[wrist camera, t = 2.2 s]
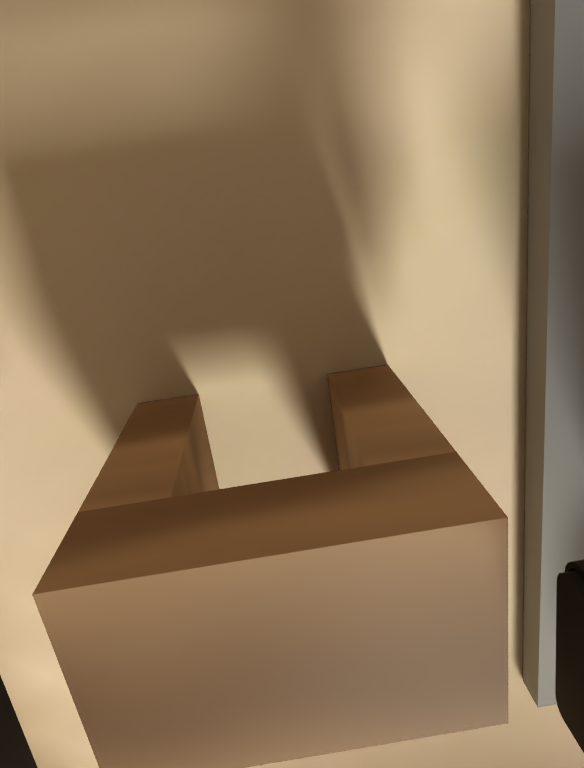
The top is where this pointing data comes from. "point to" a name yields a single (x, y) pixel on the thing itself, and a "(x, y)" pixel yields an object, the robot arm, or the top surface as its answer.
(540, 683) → the grey bearing stand
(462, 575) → the block
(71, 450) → the top surface
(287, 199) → the top surface
